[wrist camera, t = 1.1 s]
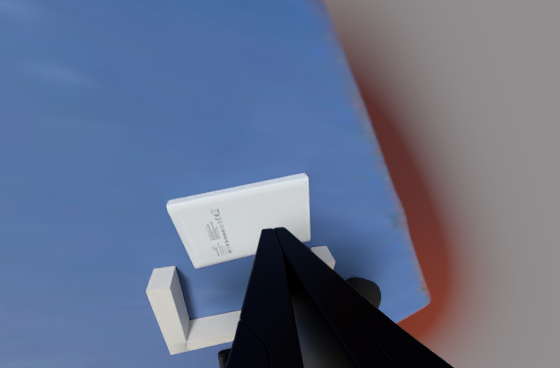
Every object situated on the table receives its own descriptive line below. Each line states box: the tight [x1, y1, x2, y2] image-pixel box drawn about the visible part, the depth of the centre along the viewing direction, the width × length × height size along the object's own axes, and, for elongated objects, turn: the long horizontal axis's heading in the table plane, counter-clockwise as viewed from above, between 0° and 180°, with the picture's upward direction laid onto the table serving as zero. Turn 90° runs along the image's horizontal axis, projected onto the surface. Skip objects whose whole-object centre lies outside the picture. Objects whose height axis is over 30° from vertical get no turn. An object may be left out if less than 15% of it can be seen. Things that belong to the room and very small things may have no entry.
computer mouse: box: [347, 278, 381, 308], centre depth 31 cm, size 8×12×4 cm, turn 146°
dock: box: [146, 246, 335, 355], centre depth 25 cm, size 12×19×2 cm, turn 87°
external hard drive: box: [166, 173, 311, 269], centre depth 21 cm, size 2×8×12 cm
